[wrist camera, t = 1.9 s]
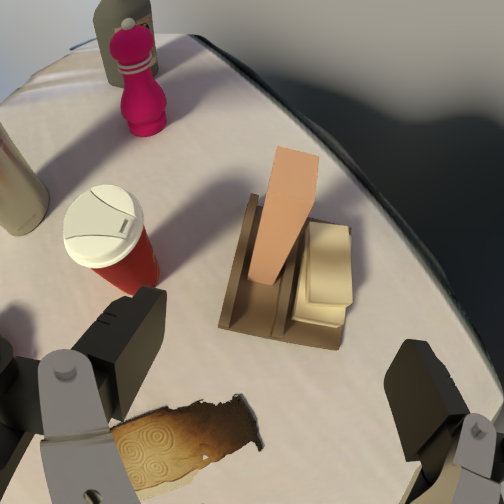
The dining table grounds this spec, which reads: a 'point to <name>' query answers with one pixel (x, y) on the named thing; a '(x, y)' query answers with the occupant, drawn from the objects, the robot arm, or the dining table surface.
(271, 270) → the terracotta block
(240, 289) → the walnut rack
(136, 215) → the paper cup
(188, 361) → the dining table surface
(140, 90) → the pepper mill
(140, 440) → the parchment
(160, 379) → the dining table surface
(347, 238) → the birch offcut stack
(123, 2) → the liquor
